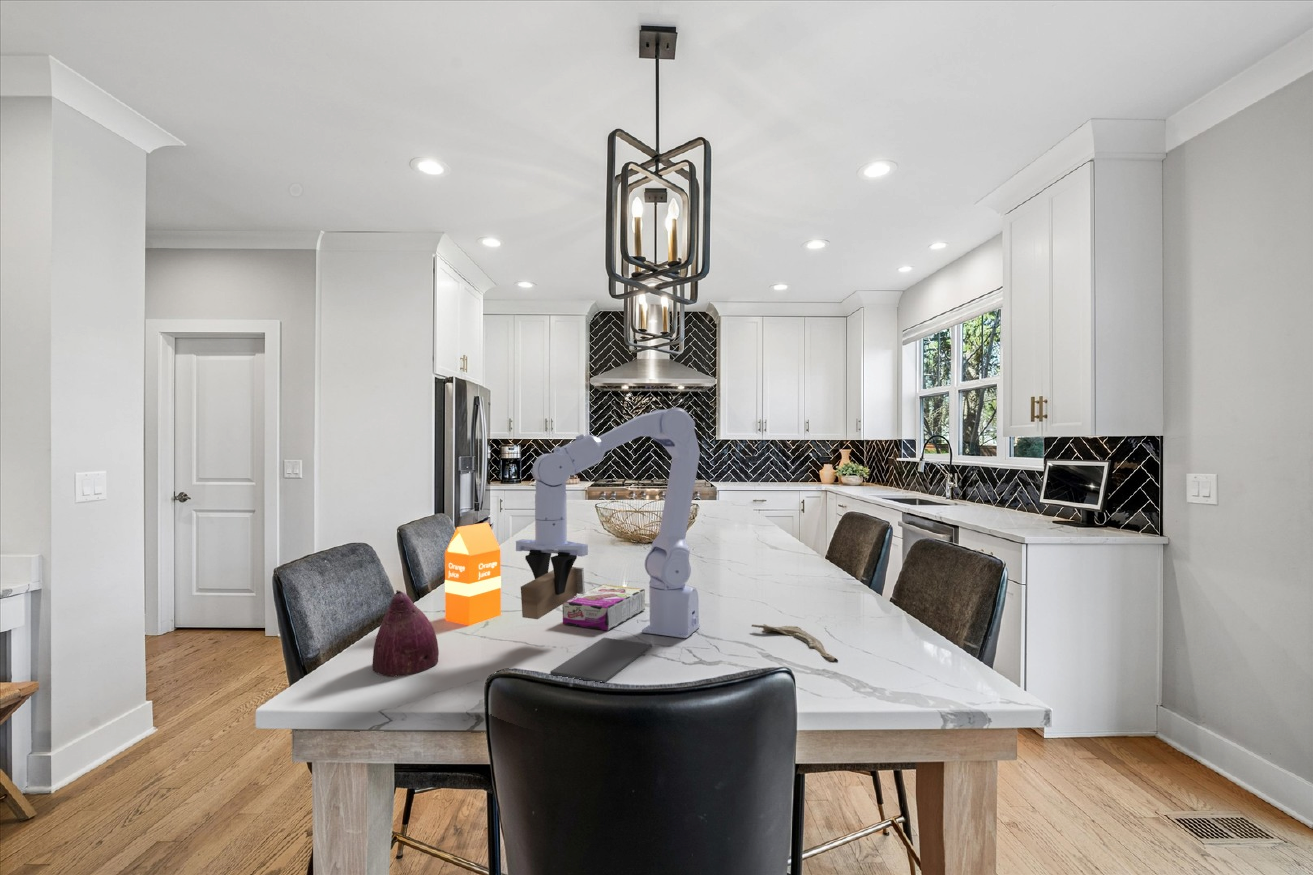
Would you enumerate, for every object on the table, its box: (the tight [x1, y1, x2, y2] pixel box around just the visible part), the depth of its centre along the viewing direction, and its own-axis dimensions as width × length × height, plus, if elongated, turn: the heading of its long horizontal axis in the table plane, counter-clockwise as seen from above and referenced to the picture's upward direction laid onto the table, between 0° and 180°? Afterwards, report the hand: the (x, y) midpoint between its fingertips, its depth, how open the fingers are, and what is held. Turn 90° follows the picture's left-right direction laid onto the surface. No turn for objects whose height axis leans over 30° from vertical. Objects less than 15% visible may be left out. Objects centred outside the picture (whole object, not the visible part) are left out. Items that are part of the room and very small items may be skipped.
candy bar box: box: [562, 584, 646, 631], centre depth 129 cm, size 11×5×16 cm
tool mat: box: [549, 637, 653, 683], centre depth 104 cm, size 10×18×1 cm, turn 156°
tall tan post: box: [520, 566, 586, 620], centre depth 110 cm, size 14×6×6 cm, turn 156°
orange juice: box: [444, 522, 502, 626], centre depth 129 cm, size 8×9×20 cm
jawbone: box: [751, 624, 839, 663], centre depth 112 cm, size 9×20×2 cm, turn 35°
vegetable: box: [371, 589, 440, 678], centre depth 101 cm, size 10×10×15 cm
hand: (551, 592), depth 111 cm, fingers closed on tall tan post, 3 cm apart
